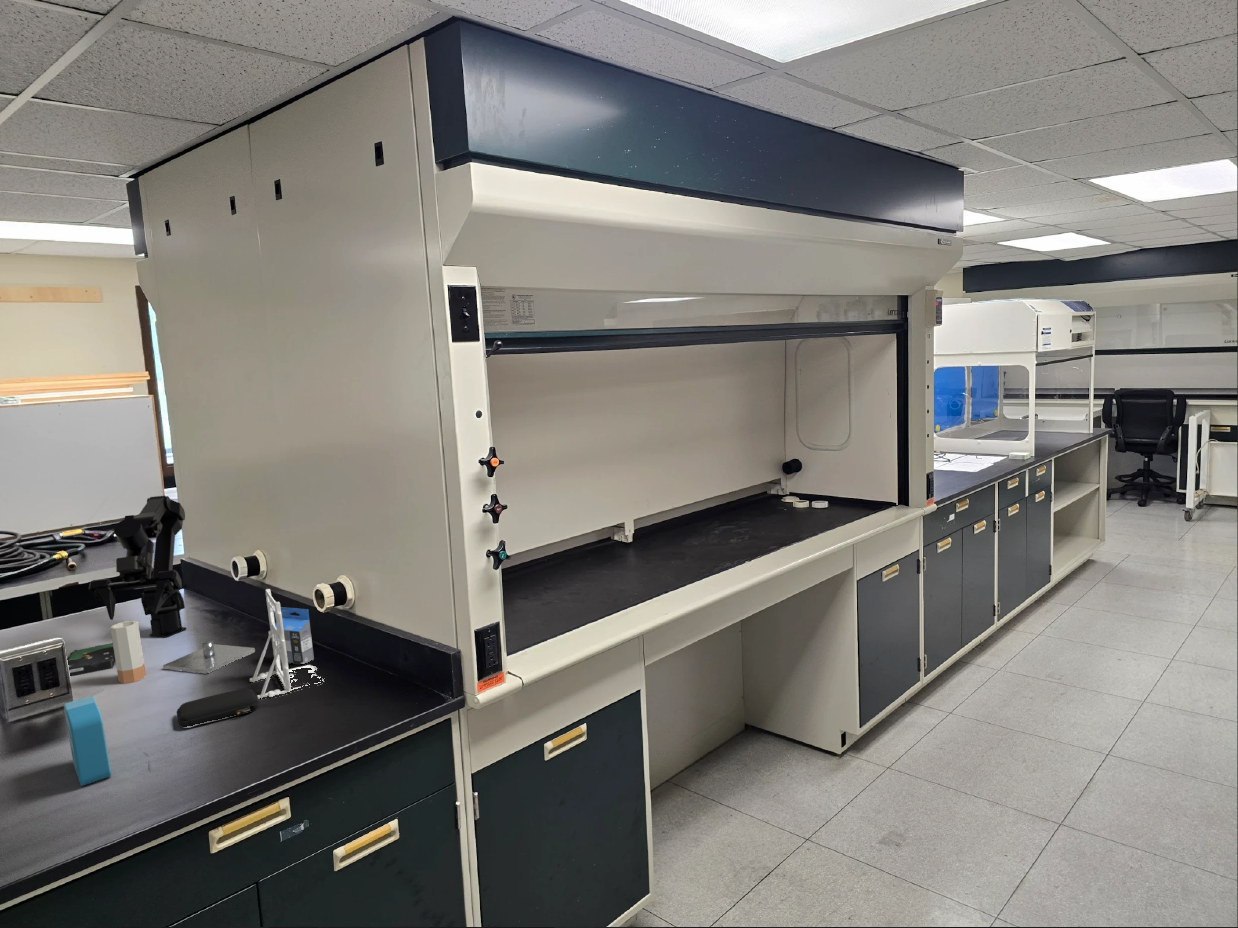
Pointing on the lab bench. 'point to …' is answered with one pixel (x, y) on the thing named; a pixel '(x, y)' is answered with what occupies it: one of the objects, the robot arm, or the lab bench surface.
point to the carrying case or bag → (217, 707)
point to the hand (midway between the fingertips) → (133, 615)
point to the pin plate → (209, 658)
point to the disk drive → (91, 659)
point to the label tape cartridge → (297, 635)
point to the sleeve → (128, 651)
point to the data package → (87, 740)
